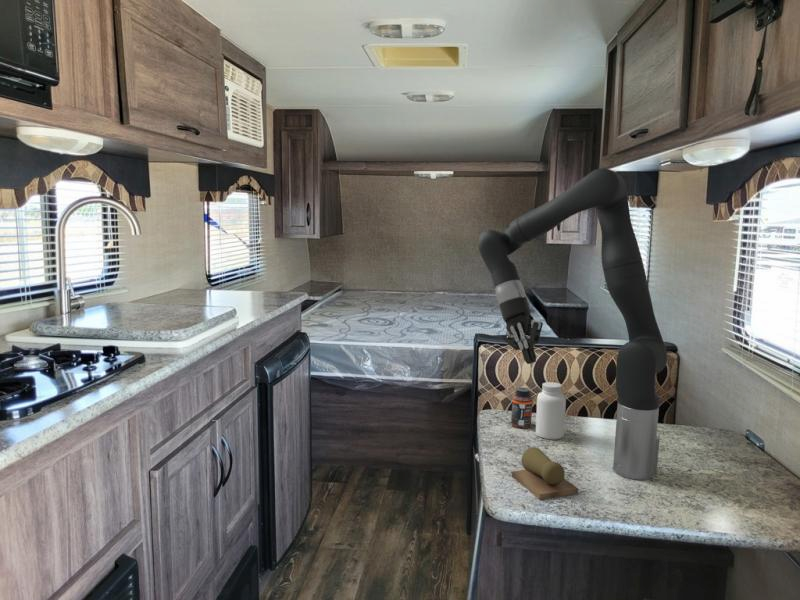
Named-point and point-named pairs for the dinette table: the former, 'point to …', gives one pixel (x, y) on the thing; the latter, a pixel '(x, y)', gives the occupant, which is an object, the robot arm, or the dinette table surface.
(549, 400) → the pill bottle
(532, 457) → the cork
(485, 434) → the dinette table surface
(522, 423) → the supplement bottle
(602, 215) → the robot arm
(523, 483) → the walnut board
